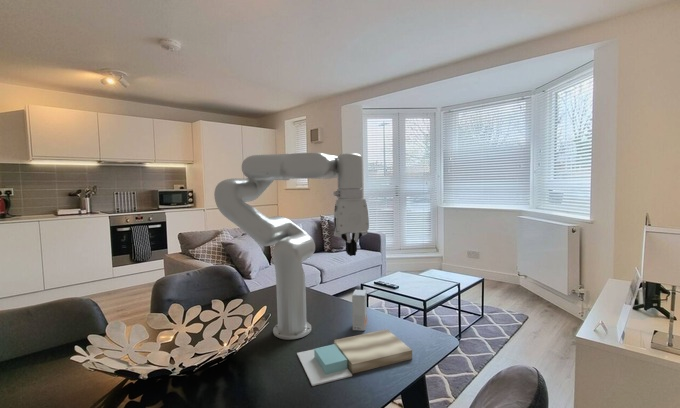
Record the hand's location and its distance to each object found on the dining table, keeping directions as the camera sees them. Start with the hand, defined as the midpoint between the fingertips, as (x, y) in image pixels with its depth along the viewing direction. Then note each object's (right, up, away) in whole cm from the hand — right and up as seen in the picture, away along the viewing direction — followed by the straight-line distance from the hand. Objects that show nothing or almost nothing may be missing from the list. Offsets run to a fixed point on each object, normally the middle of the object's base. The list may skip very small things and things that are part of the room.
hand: (351, 254), depth 99 cm
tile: (-6, -26, -11) cm, 29 cm away
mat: (-8, -28, -11) cm, 31 cm away
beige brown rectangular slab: (+6, -27, -6) cm, 29 cm away
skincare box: (+3, -27, +11) cm, 29 cm away
